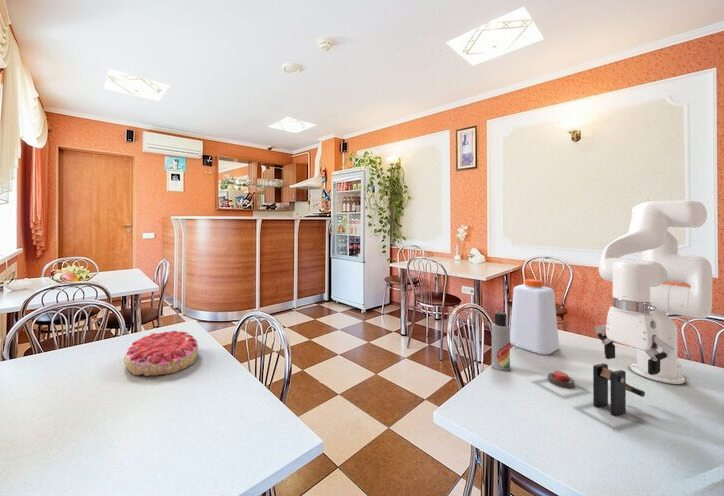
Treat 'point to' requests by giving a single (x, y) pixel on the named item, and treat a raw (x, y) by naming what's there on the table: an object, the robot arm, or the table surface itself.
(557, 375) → the button
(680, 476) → the table surface
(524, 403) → the table surface
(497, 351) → the lotion bottle
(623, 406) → the bracket
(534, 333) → the plastic bottle
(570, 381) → the button block
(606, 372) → the lever
